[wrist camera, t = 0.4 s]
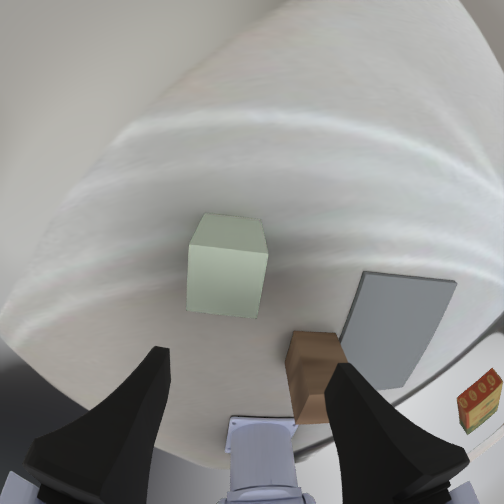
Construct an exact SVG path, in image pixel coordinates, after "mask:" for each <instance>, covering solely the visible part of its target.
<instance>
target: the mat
mask: <svg viewBox="0 0 504 504" xmlns="http://www.w3.org/2000/svg"><path fill="white" fill-rule="evenodd" d="M456 286H457V283H456V282H455V281H450V280H440V279H430V278H421V277H411V276H402V275H393V274H383V273H374V272H365V271H364V272H363V275H362V278H361V281H360V284H359V287H358V290H357V293H356V296H355V299H354V302H353V305H352V307H351V310H350V313H349V316H348V318H347V321H346V324H345V326H344V329H343V332H342V334H341V337H340V339H339V342H340V344H341V347H342V349H343V351H344V354H345V356H346V358H347V361H348V363H351V364H352V365H353V366H354V367H355V368H356V369H357V370H358V371H359V372H360V374H361V375H362V376H363V377H364V378H365V379H366V380H367V381H368V382H369V383H370V384H371V386H372V387H373V388H374V389H375V390H385V389H393V388H400V387H403V386H404V384H405V383H406V381H407V380H408V378H409V377H410V375H411V373H412V372H413V370H414V369H415V367H416V365H417V364H418V362H419V360H420V358H421V357H422V355H423V353H424V352H425V350H426V348H427V346H428V344H429V343H430V341H431V339H432V337H433V335H434V333H435V331H436V329H437V327H438V325H439V323H440V321H441V319H442V317H443V315H444V313H445V311H446V309H447V306H448V304H449V302H450V300H451V297H452V295H453V293H454V290H455V288H456Z"/></svg>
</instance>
